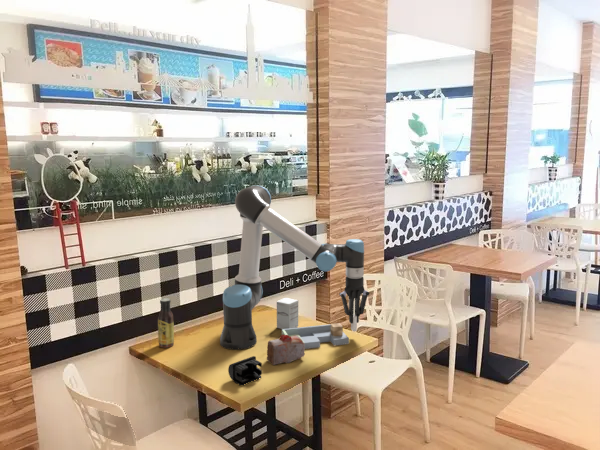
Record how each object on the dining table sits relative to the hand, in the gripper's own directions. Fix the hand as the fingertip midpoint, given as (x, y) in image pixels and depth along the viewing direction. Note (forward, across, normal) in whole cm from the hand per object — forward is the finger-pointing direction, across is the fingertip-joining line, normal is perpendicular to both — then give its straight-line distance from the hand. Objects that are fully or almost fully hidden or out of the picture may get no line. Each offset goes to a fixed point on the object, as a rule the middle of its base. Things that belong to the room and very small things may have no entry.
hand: (353, 330), depth 214 cm
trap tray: (+4, -17, 0) cm, 18 cm away
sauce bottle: (+4, -77, +13) cm, 78 cm away
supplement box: (+4, -24, +20) cm, 32 cm away
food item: (+4, -33, -13) cm, 36 cm away
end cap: (+4, -50, -25) cm, 56 cm away
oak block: (+1, -8, 0) cm, 8 cm away
